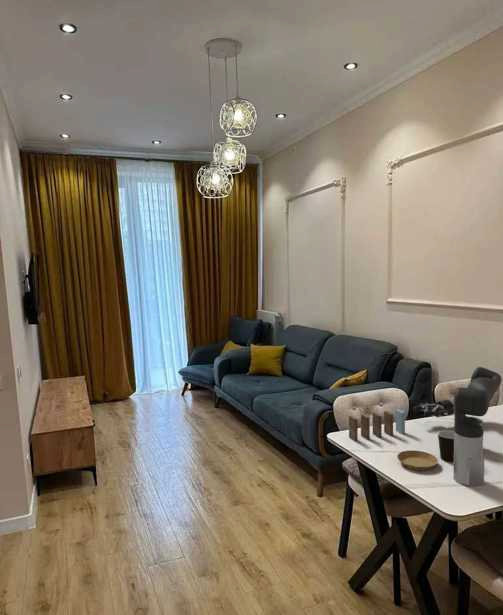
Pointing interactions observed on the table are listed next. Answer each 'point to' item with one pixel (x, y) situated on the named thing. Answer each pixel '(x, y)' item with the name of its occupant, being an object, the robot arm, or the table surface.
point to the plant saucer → (417, 460)
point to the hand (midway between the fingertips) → (419, 411)
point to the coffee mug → (446, 445)
